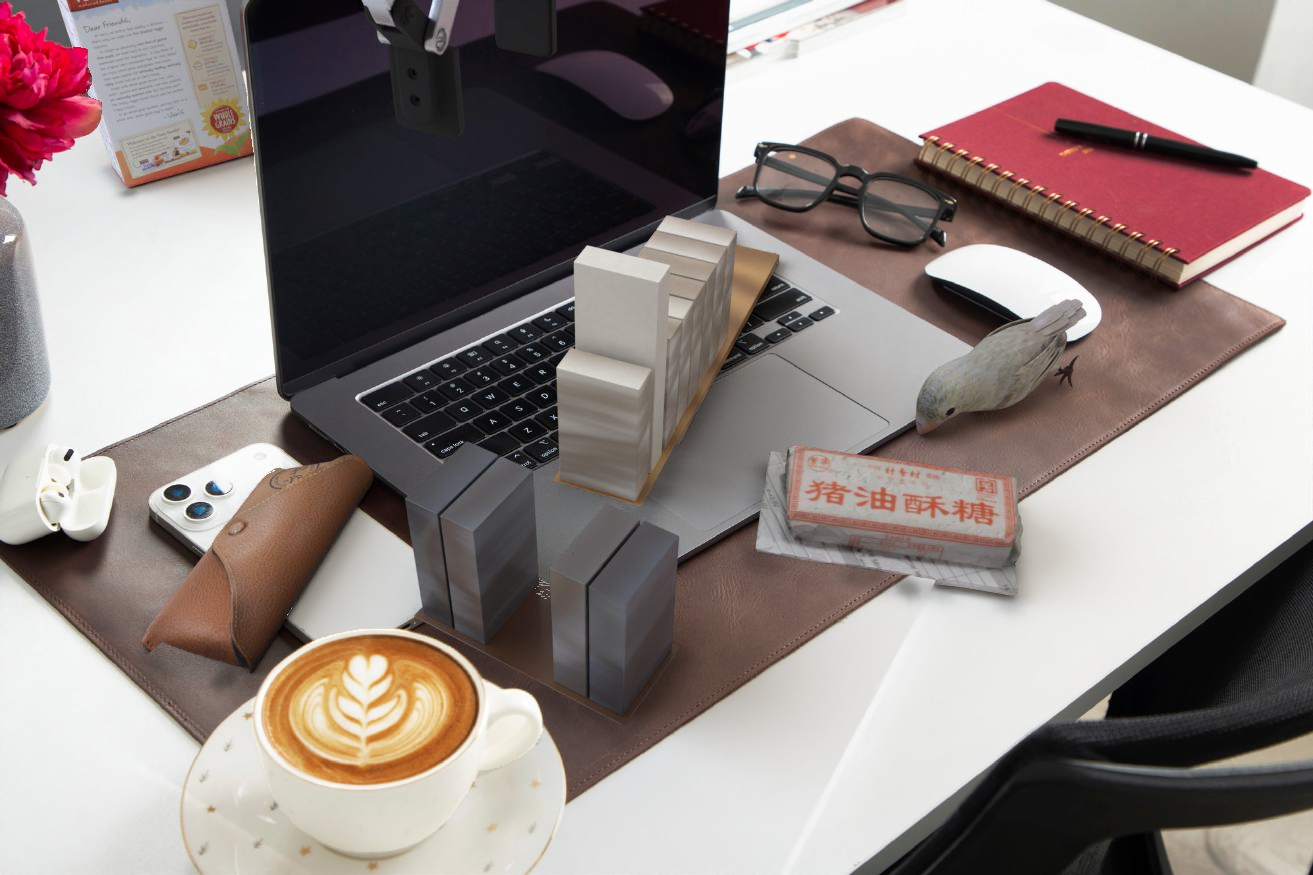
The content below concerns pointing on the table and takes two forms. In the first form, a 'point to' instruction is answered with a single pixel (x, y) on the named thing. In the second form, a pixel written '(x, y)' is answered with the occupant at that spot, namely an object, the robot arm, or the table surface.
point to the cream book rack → (698, 342)
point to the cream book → (626, 320)
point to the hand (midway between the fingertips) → (481, 88)
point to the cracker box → (163, 83)
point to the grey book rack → (581, 584)
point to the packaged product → (892, 517)
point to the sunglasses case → (261, 563)
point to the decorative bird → (1000, 367)
